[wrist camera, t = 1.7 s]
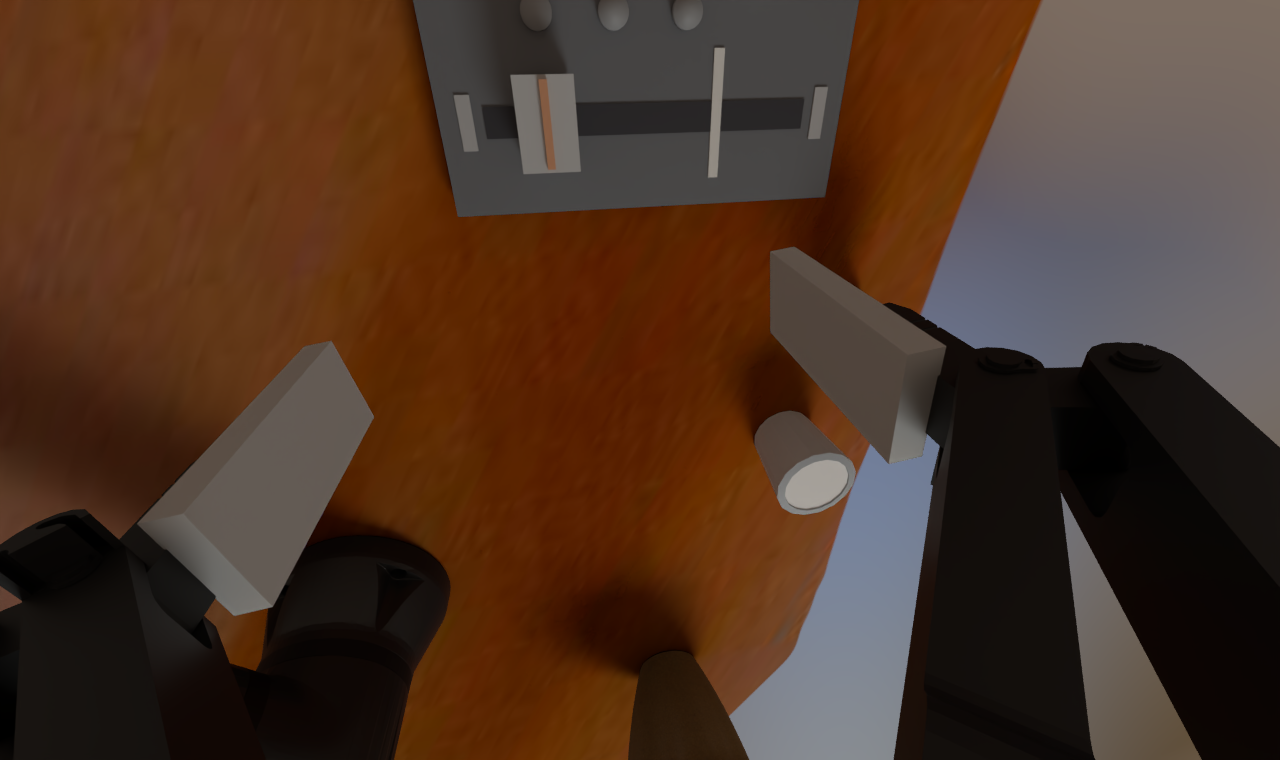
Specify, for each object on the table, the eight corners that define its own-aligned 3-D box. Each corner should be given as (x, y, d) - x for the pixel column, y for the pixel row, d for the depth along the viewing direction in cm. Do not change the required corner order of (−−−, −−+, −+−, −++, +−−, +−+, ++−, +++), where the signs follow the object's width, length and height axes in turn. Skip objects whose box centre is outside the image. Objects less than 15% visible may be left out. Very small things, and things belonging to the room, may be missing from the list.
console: (463, 209, 31) (456, 219, 29) (365, -271, 21) (344, -314, 19) (811, 191, 34) (829, 198, 32) (878, -235, 24) (912, -268, 22)
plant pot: (641, 625, 58) (670, 788, 45) (740, 640, 63) (793, 789, 50) (591, 692, 64) (603, 854, 50) (686, 700, 69) (719, 848, 56)
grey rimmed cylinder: (757, 404, 43) (790, 454, 38) (825, 405, 45) (868, 453, 39) (740, 463, 47) (768, 517, 41) (805, 462, 48) (841, 514, 42)
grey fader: (526, 164, 28) (523, 174, 25) (514, 76, 26) (509, 74, 23) (577, 162, 29) (581, 172, 25) (570, 75, 26) (573, 73, 23)
